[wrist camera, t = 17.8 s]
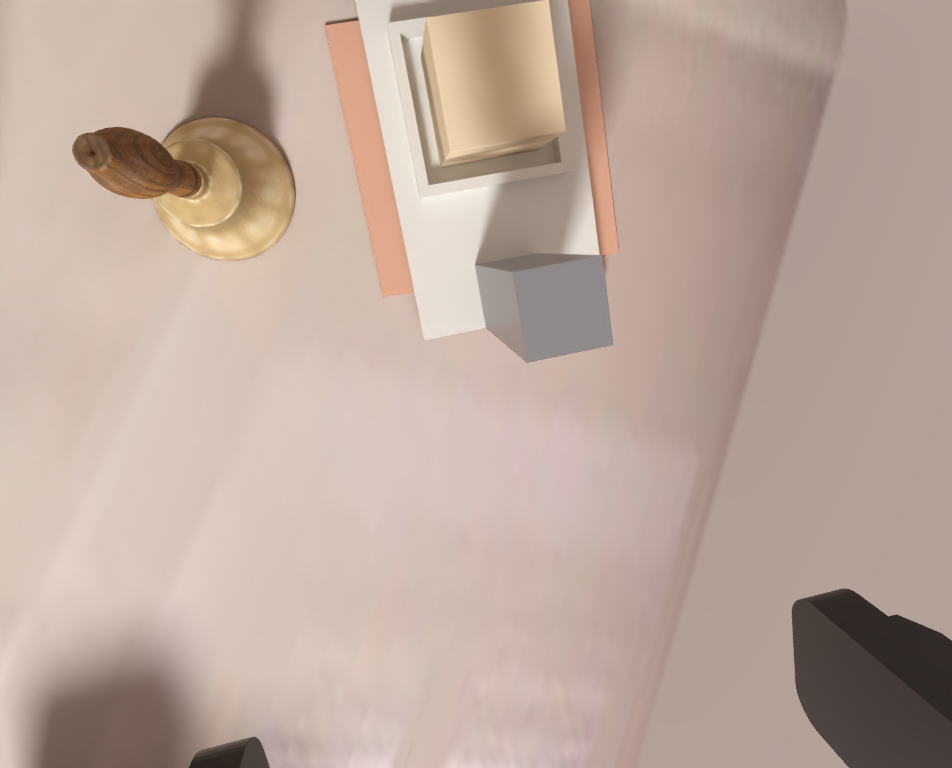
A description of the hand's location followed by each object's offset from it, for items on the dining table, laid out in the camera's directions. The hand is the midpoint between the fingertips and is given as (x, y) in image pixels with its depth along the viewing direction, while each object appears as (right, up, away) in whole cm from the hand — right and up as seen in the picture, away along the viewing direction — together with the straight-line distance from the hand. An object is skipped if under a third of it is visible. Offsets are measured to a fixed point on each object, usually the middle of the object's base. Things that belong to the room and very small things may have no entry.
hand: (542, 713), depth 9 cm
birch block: (-1, +21, +26) cm, 34 cm away
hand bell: (-16, +17, +27) cm, 36 cm away
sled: (0, +19, +28) cm, 34 cm away
